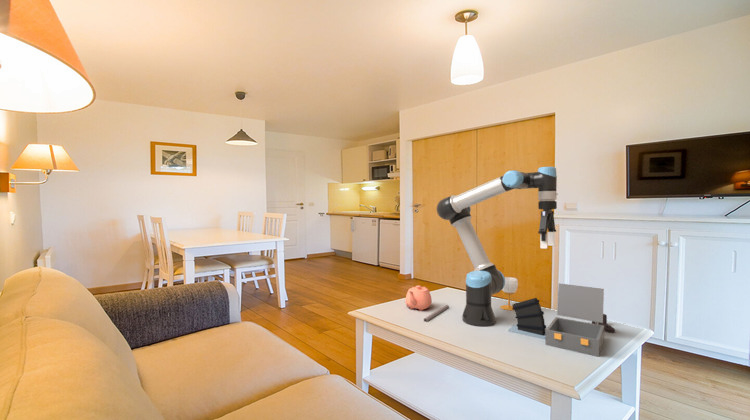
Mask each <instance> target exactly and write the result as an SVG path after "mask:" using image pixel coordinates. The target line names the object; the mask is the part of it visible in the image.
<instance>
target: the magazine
mask: <svg viewBox="0 0 750 420" xmlns="http://www.w3.org/2000/svg"><path fill="white" fill-rule="evenodd" d="M511 306H513V308H512V309H513V310H512V311H513V312H514V313H515V319H516V320H517V322H516V323H517V324H516V326H518V330H522V331H526V332H530V333H535V334H539V335H544V334H545V332H546V329H547V325H546V324H545V323H546V322H545V317H544V315H545V312H544V311H543V310H542V307H541V304H540V299H538V298H537V297H534V298H530V299H527V300H522V301H520V302H516V303H513V304H512V305H511Z"/></svg>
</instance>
